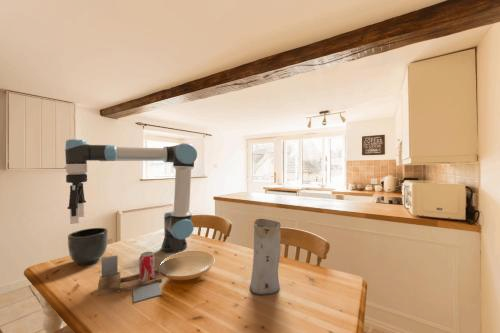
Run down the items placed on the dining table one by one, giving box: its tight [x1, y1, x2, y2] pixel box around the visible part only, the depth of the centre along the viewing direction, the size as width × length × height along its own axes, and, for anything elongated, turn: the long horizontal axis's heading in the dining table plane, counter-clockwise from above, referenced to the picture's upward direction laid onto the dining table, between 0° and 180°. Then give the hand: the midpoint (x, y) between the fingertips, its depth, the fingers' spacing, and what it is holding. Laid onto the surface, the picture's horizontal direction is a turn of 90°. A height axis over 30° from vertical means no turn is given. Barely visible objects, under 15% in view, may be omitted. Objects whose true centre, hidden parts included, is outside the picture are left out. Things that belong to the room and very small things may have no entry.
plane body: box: [97, 269, 163, 297], centre depth 95 cm, size 24×10×5 cm, turn 120°
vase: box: [249, 218, 282, 296], centre depth 92 cm, size 13×14×28 cm
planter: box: [67, 227, 108, 266], centre depth 118 cm, size 17×17×16 cm
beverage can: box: [138, 251, 156, 283], centre depth 99 cm, size 6×6×12 cm
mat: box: [132, 282, 163, 304], centre depth 89 cm, size 10×10×1 cm
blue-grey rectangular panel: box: [99, 254, 120, 278], centre depth 91 cm, size 7×1×8 cm, turn 120°
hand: (77, 220), depth 99 cm, fingers open, 13 cm apart
